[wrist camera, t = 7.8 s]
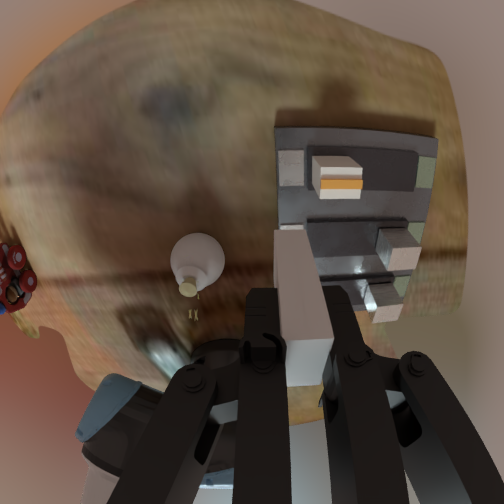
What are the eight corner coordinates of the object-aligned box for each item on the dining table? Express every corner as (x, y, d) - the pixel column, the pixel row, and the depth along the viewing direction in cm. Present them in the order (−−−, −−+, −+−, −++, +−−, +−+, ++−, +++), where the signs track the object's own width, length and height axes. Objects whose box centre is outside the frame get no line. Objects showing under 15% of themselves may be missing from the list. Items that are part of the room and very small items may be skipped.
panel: (279, 308, 38) (281, 343, 33) (274, 126, 25) (278, 136, 20) (397, 299, 37) (411, 330, 31) (431, 136, 24) (464, 150, 18)
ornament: (223, 221, 31) (209, 276, 22) (232, 274, 35) (223, 335, 26) (173, 225, 31) (143, 278, 23) (186, 275, 35) (167, 334, 27)
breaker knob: (312, 183, 26) (320, 200, 22) (312, 155, 24) (321, 168, 20) (347, 183, 25) (361, 200, 22) (348, 156, 24) (363, 168, 20)
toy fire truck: (24, 289, 39) (-2, 325, 31) (-1, 235, 33) (-35, 268, 24) (44, 291, 39) (17, 331, 30) (18, 233, 32) (-20, 269, 24)
